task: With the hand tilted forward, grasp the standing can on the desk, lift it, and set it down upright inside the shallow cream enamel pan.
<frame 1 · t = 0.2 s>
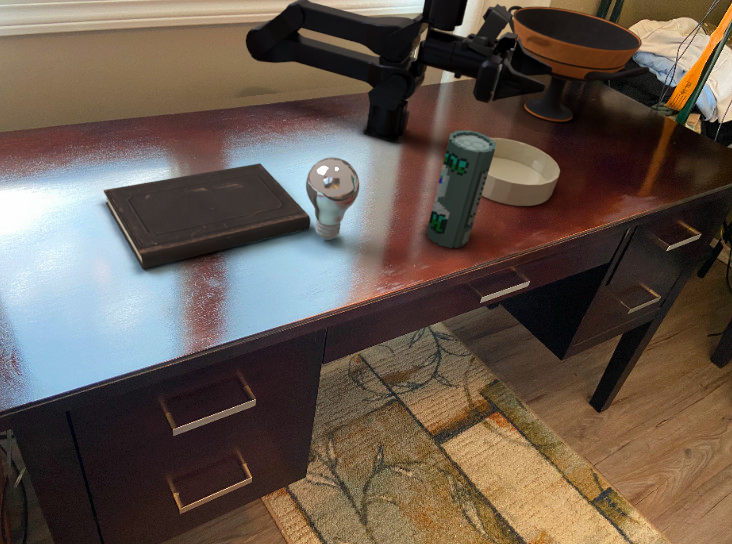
hand: (548, 79, 97), 17 cm above the table, tool horizontal, fingers open, 9 cm apart
can: (446, 236, 89), on the table
hardcover book: (209, 219, 84), on the table
footed terracotta bowl: (547, 112, 132), on the table
light bulb: (326, 239, 84), on the table
pan: (505, 180, 105), on the table
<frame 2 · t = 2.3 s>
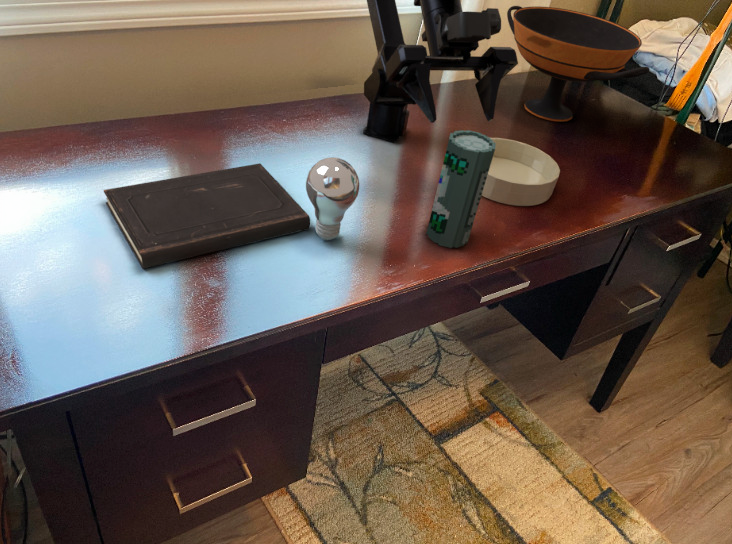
hand: (462, 120, 87), 14 cm above the table, tool tilted 50°, fingers open, 9 cm apart
nothing on the table moved.
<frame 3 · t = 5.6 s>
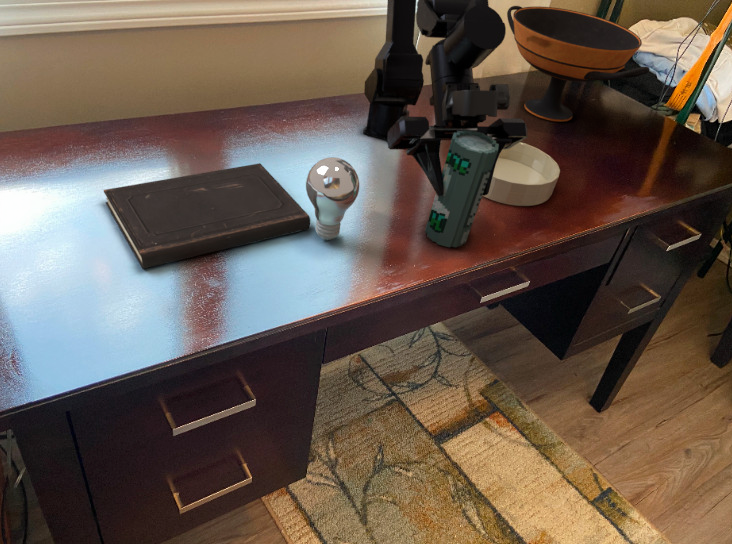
hand: (463, 195, 83), 8 cm above the table, tool tilted 45°, fingers closed on can, 6 cm apart
can: (445, 235, 89), on the table, touching gripper
everything else where it was.
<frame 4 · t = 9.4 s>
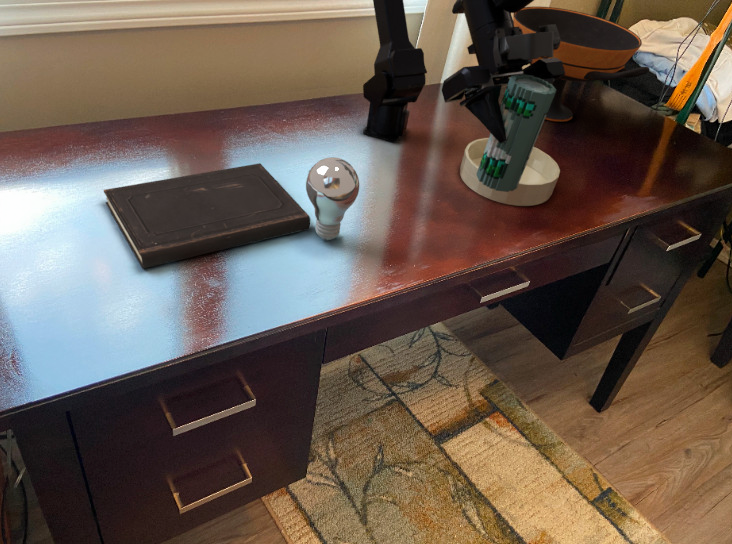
hand: (520, 138, 86), 13 cm above the table, tool tilted 45°, fingers closed on can, 6 cm apart
can: (496, 181, 92), point 6 cm above the table, touching gripper
everything else where it was.
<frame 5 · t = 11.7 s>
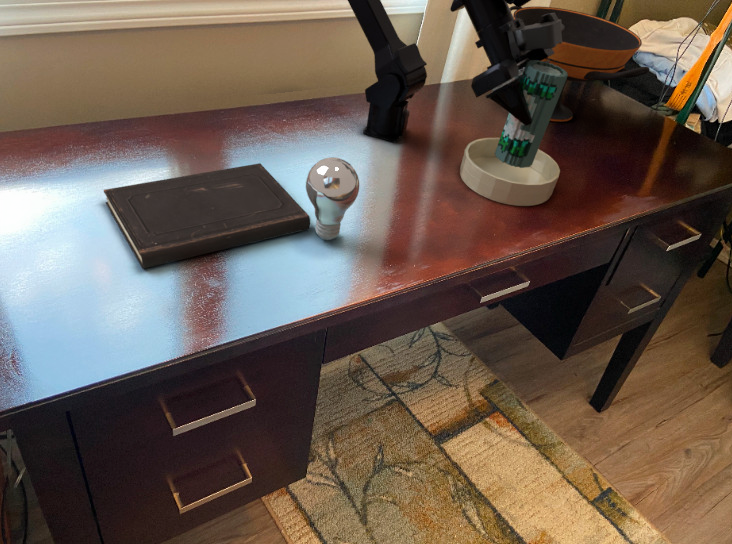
hand: (536, 118, 96), 12 cm above the table, tool tilted 45°, fingers closed on can, 6 cm apart
can: (512, 159, 101), point 5 cm above the table, touching gripper
everything else where it was.
when the fingers open (8 cm above the table, at t = 13.4 s): can stays where it is, resting on pan.
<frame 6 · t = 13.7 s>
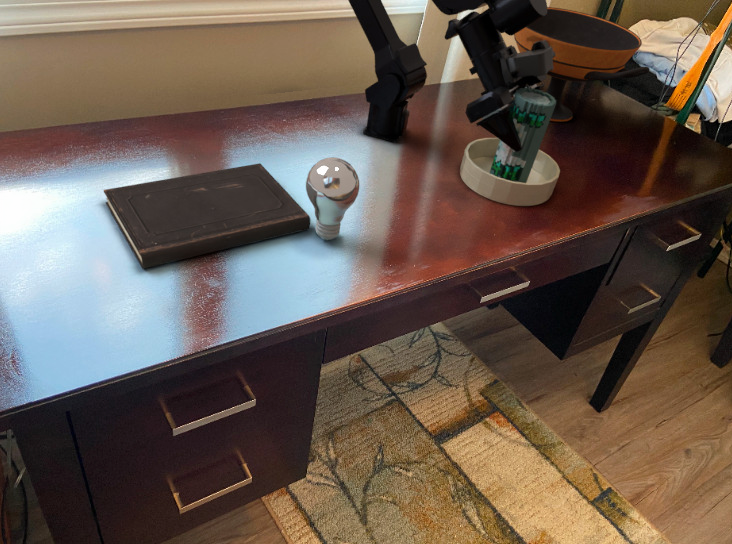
hand: (530, 141, 98), 8 cm above the table, tool tilted 45°, fingers open, 9 cm apart
can: (506, 182, 103), resting on pan, touching gripper
everything else where it was.
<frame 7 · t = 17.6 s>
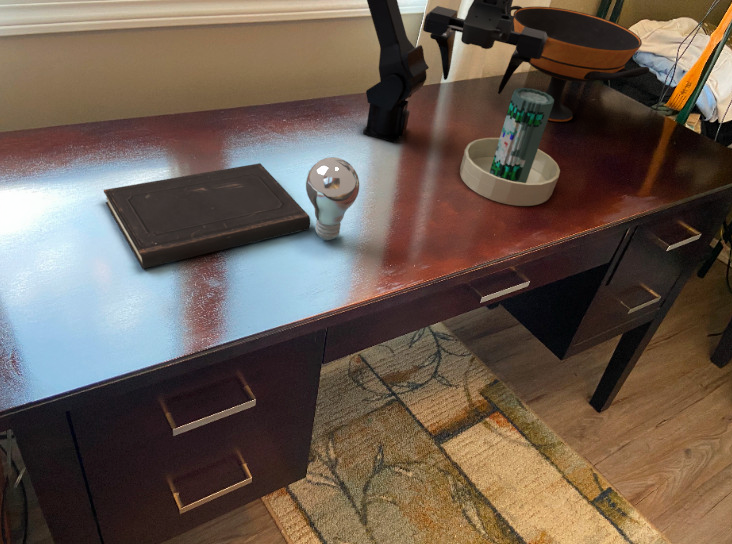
hand: (472, 86, 100), 13 cm above the table, tool pointing down, fingers open, 9 cm apart
can: (505, 182, 104), resting on pan
everything else where it was.
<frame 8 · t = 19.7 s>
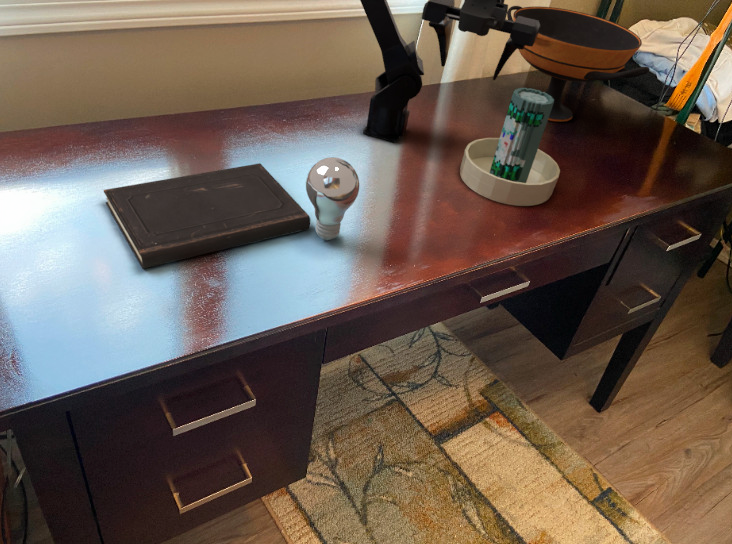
hand: (468, 72, 105), 13 cm above the table, tool pointing down, fingers open, 9 cm apart
nothing on the table moved.
at the end: can inside the target area in the pan (1.2 cm from its centre), point 0.3 cm above the pan's base; can tilted 0°; the gripper is holding nothing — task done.
